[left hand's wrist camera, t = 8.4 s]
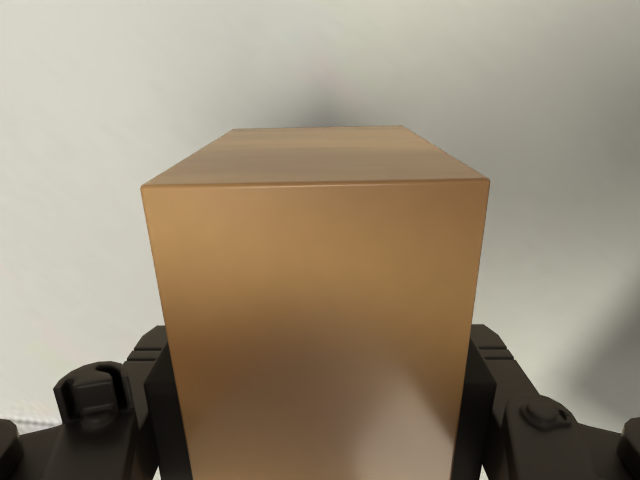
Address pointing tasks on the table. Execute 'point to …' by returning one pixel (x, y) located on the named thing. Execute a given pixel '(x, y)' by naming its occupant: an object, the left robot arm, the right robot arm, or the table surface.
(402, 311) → the bar
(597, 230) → the table surface
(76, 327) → the table surface
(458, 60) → the table surface
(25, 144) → the table surface
